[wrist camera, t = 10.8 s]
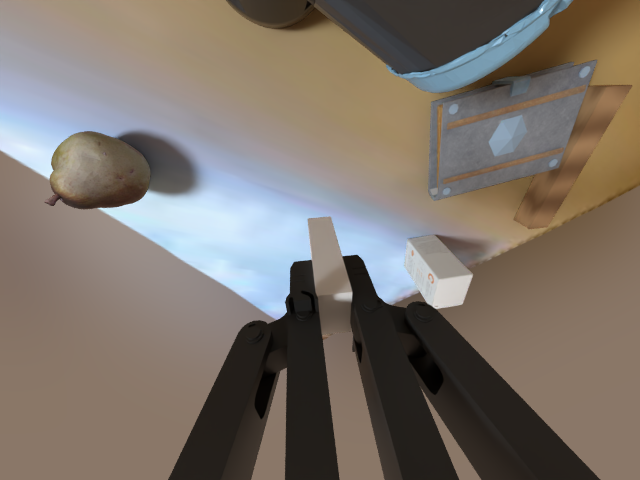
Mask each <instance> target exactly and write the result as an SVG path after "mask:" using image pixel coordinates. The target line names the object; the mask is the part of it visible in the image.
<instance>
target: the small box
mask: <svg viewBox="0 0 640 480" xmlns="http://www.w3.org/2000/svg"><path fill="white" fill-rule="evenodd" d="M404 267H405V268H406V270H407V271H408V273H409V274H410V276H411V278H412V279H413V281H414V282H415V284H416V286H417V287H418V289H419V290H420V292H421V294H422V295H423V297H424V298H425V300H426V301H427V303H428V304H429V305H431V306H433V307H434V308H435V309H438V308H444V307H449V306H456V305H462V304H463V302H464V299H465V296H466V293H467V290H468V288H469V285H470V282H471V279H472V276H473V274H472V273H471V272H470V271H469V270H468V269H467V268H466V266H465V265H464V264H463V263H462V262H461V261H460V260H459V259H458V258H457V257H456V256H455V255H454V254H453V253H452V252H451V251H450V250H449V249H448V248H447V247H446V246H445V245H444V244H443V243H442V242H441V241H440V240H439V239H438V238H437V237H436V236H435V235H429V236H423V237H416V238H410V239H407V245H406V253H405V262H404Z"/></svg>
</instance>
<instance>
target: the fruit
mask: <svg viewBox="0 0 640 480" xmlns="http://www.w3.org/2000/svg"><path fill="white" fill-rule="evenodd" d="M51 165H52V168H53V170H54V171H53V172H52V174H51V176H50V184H51V188H52V190H53V192H54V193H55V195H53V196H52V197H51V198H49V199H47V200H46V201H45V203H47V204H49V205H51V206H54V205H55V203H56V201H57V200H59V199H60V200H61V201H62V202H64V203H65V204H66V205H68V206H71V207H74V208H78V209H93V208H111V207H119V206H123V205H126V204H132V203H134V202H136V201H138V200H140V199H141V198H142V197H143V196H144V195H145V194H146V192H147V190H148V187H149V182H150V177H151V172H150V167H149V165H148V163H147V161H146V159H145V158H144V156H143V155H142V154H141V153H140V152H139V151H137V150H136V149H134V148H133V147H132V146H130V145H129V144H127V143H125V142H123V141H121V140H119V139H116V138H113V137H110V136H107V135H104V134H101V133H97V132H92V131H86V132H79V133H76V134H73V135H71V136H70V137H69V138H67V139H66V140H65V141H63V142H62V143H61V144H60V145H59V146H58V148H57V149H56V150H55V152H54V154H53V157H52V161H51Z"/></svg>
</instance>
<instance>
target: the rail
mask: <svg viewBox="0 0 640 480" xmlns="http://www.w3.org/2000/svg"><path fill="white" fill-rule="evenodd" d="M631 87H632V85H595V86H588V88H587V90H586V93H585V96H584V99H583V101H582V104H581V107H580V110H579V112H578V115H577V118H576V121H575V124H574V126H573V129H572V132H571V135H570V137H569V140H568V143H567V146H566V148H565V151H564V154H563V157H562V159H561V162H560V165H559V168H556V169H553V170H550V171H546V172H542V173H538V174H535V176H534V178H533V181H532V183H531V185H530V187H529V189H528V191H527V193H526V195H525V197H524V199H523V201H522V203H521V205H520V207H519V209H518V211H517V213H516V215H515V217H514V220H515V221H517V222H518V223H520V224H522V225H523V226H525V227H527V228H528V229H534V228H544V227H548V226H549V224H550V223H551V221H552V219H553V218H554V216H555V214H556V213H557V211H558V209H559V207H560V206H561V204H562V202H563V201H564V199H565V197H566V196H567V194H568V192H569V191H570V189H571V187H572V186H573V184H574V182H575V181H576V179H577V177H578V176H579V174H580V172H581V171H582V169H583V167H584V166H585V164H586V162H587V161H588V159H589V157H590V156H591V154H592V152H593V151H594V149H595V147H596V146H597V144H598V142H599V141H600V139H601V137H602V136H603V134H604V132H605V131H606V129H607V127H608V126H609V124H610V122H611V120H612V119H613V117H614V115H615V114H616V112H617V110H618V109H619V107H620V105H621V104H622V102H623V100H624V99H625V97H626V95H627V94H628V92H629V90H630V89H631Z"/></svg>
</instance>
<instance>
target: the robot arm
mask: <svg viewBox="0 0 640 480" xmlns="http://www.w3.org/2000/svg"><path fill="white" fill-rule="evenodd" d="M226 1H227V2H228V3H229V4H230V6H231V7H232V8H233V9H235V10H236V11H237V12H238V13H239V14H240V15H242V16H243V17H244V18H246V19H248V20H249V21H251V22H253V23H255V24H258V25H260V26H264V27H268V28H283V27H288V26H291V25H293V24H296V23H297V22H299V21H301V20H302V19H304V18H305V17H306V16H307V15H308V14H309V13H310V12H311V11H312V10H313V9H314V8H316V9H318V10H319V11H320V12H321V13H323V14H324V15H325V16H326V17H328V18H329V19H330V20H331V21H333V22H334V23H335V24H336V25H338V26H339V27H340V28H341V29H343V30H344V31H345V32H346V33H348V34H349V35H350V36H351V37H353V38H354V39H355V40H357V41H358V42H359V43H360V44H362V45H363V46H364V47H365V48H367V49H368V50H369V51H370V52H372V53H373V54H374V55H375V56H377V57H378V58H379V59H380V60H382V61H383V62H384V63H385V64H386V67H387V68H388V70H389V71H390V72H391V73H393V74H394V75H396V76H399V77H401V78H405V79H406V80H407V81H409V82H410V83H412V84H413V85H414V86H416V87H417V88H419V89H421V90H423V91H427V92H432V93H443V92H449V91H453V90H456V89H459V88H462V87H464V86H467V85H469V84H471V83H473V82H475V81H477V80H479V79H481V78H483V77H485V76H486V75H488V74H490V73H491V72H493V71H495V70H496V69H498V68H499V67H501V66H502V65H504V64H505V63H507V62H508V61H509V60H511V59H512V58H513V57H515V56H516V55H517V54H519V53H520V52H521V51H522V50H524V49H525V48H526V47H527V46H528V45H530V44H531V43H532V42H533V41H534V40H535V39H537V38H538V37H539V36H540V35H541V34H542V33H543V32H544V31H545V30H546V29H547V28H548V27H549V24H550V19H549V18H551V17H552V16H553V15H555V14H557V13H559V12H561V11H563V10H564V9H566V8H567V7H568V6H569V5H570V4H571V2H572V1H573V0H226ZM308 228H309V239H310V250H311V260H308V261H298V262H294V263H293V265H292V266H291V268H290V294H289V295H288V296H287V298H286V301H285V304H286V308H287V313H286V314H285V315H284V316H283V317H282V318H280V319H278V320H276V321H274V322H271V323H269V324H267V323H266V322H264V321H260V320H259V321H252V322H250V323H248V324H246V325H245V326H244V327H243V328H242V329H241V330H240V332H239V333H238V335H237V337H236V339H235V342H234V343H233V345H232V348H231V350H230V352H229V354H228V356H227V358H226V360H225V362H224V364H223V366H222V368H221V370H220V372H219V375H218V377H217V379H216V381H215V383H214V385H213V387H212V389H211V392H210V393H209V395H208V398H207V400H206V402H205V404H204V406H203V408H202V410H201V412H200V414H199V416H198V419H197V421H196V423H195V425H194V427H193V429H192V431H191V433H190V435H189V437H188V439H187V442H186V444H185V446H184V448H183V450H182V452H181V454H180V456H179V459H178V460H177V463H176V465H175V467H174V469H173V471H172V473H171V475H170V477H169V479H168V480H251V477H252V474H253V470H254V466H255V462H256V459H257V455H258V451H259V447H260V444H261V440H262V437H263V433H264V429H265V426H266V422H267V418H268V414H269V411H270V407H271V403H272V400H273V396H274V392H275V389H276V385H277V381H278V377H279V374H280V371H281V370H283V369H285V368H287V398H286V458H285V480H339V472H338V463H337V455H336V447H335V439H334V431H333V423H332V415H331V405H330V397H329V389H328V381H327V373H326V365H325V356H324V348H323V339H322V335H326V334H334V333H342V332H350V331H351V328H352V332H353V347H352V350H353V352H355V353H356V357H357V362H358V366H359V371H360V375H361V379H362V383H363V388H364V392H365V397H366V401H367V405H368V409H369V414H370V418H371V423H372V427H373V431H374V435H375V440H376V444H377V448H378V453H379V457H380V461H381V466H382V470H383V474H384V479H385V480H459V478H458V476H457V474H456V471H455V469H454V466H453V464H452V462H451V459H450V457H449V454H448V452H447V450H446V447H445V445H444V443H443V440H442V438H441V435H440V433H439V431H438V428H437V426H436V424H435V421H434V419H433V416H432V414H431V412H430V409H429V407H428V405H427V402H426V400H425V398H424V395H423V393H422V390H423V392H424V393H425V394H426V396H427V398H428V399H429V401H430V402H431V404H432V405H433V407H434V408H435V410H436V411H437V413H438V414H439V416H440V417H441V419H442V420H443V422H444V423H445V425H446V426H447V428H448V429H449V431H450V433H451V434H452V435H453V437H454V439H455V440H456V442H457V443H458V445H459V446H460V448H461V449H462V450H463V452H464V454H465V455H466V457H467V458H468V460H469V461H470V463H471V464H472V466H473V467H474V469H475V470H476V472H477V474H478V475H479V477H480V478H481V480H600V479H599V478H598V477H597V476H596V475H595V474H594V473H593V472H592V471H591V470H590V469H589V467H588V466H586V464H585V463H584V462H583V461H582V460H581V459H580V458H579V457H578V456H577V455H576V454H575V453H574V452H573V451H572V450H571V449H570V448H569V447H568V446H567V445H566V444H565V443H564V442H563V441H562V439H561V438H560V437H559V436H558V435H557V434H556V433H555V432H554V431H553V430H552V429H551V428H550V427H549V426H548V425H547V424H546V423H545V422H544V421H543V420H542V419H541V418H540V417H539V416H538V415H537V414H536V412H535V411H534V410H533V409H532V408H531V407H530V406H529V405H528V404H527V403H526V402H525V401H524V400H523V399H522V398H521V397H520V396H519V395H518V394H517V393H516V392H515V391H514V390H513V389H512V388H511V387H510V385H509V384H508V383H507V382H506V381H505V380H504V379H503V378H502V377H501V376H500V375H499V374H498V373H497V372H496V371H495V370H494V369H493V368H492V367H491V366H490V365H489V364H488V363H487V362H486V361H485V359H484V358H482V356H481V355H480V354H479V353H478V352H477V351H476V350H475V349H474V348H473V347H472V346H471V345H470V344H469V343H468V342H467V341H466V340H465V339H464V338H463V337H462V336H461V335H460V334H459V333H458V331H457V330H456V329H455V328H454V327H453V326H452V325H451V324H450V323H449V322H448V321H447V320H446V319H445V318H444V317H443V316H442V315H441V314H440V313H439V312H438V311H437V310H436V309H435V308H434V307H433V306H431V305H429V304H427V303H425V302H419V301H418V302H412V303H410V304H409V305H408V306H407V308H403V307H397V306H392V305H389V304H387V303H385V302H384V301H383V300H382V299H381V298H379V297H378V295H377V294H376V291H375V289H374V286H373V284H372V281H371V279H370V276H369V274H368V271H367V269H366V266H365V264H364V261H363V260H362V259H361V258H360V257H359V256H358V255H351V256H342V254H341V251H340V247H339V244H338V240H337V237H336V233H335V230H334V226H333V223H332V220H331V217H320V218H309V219H308ZM420 387H421V388H420ZM421 389H422V390H421Z"/></svg>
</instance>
